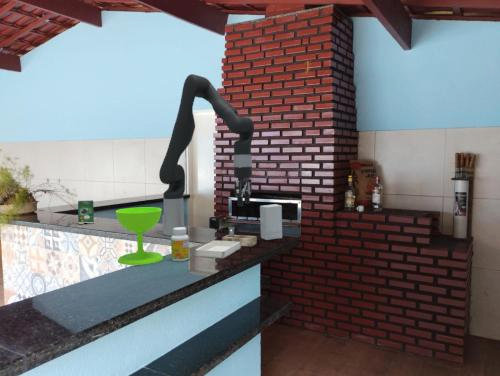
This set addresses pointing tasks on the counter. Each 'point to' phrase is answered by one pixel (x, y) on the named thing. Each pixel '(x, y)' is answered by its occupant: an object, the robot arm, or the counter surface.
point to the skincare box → (271, 221)
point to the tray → (218, 249)
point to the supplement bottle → (180, 244)
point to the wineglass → (139, 232)
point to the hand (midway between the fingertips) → (243, 205)
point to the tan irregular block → (242, 239)
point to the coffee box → (85, 211)
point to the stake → (231, 231)
